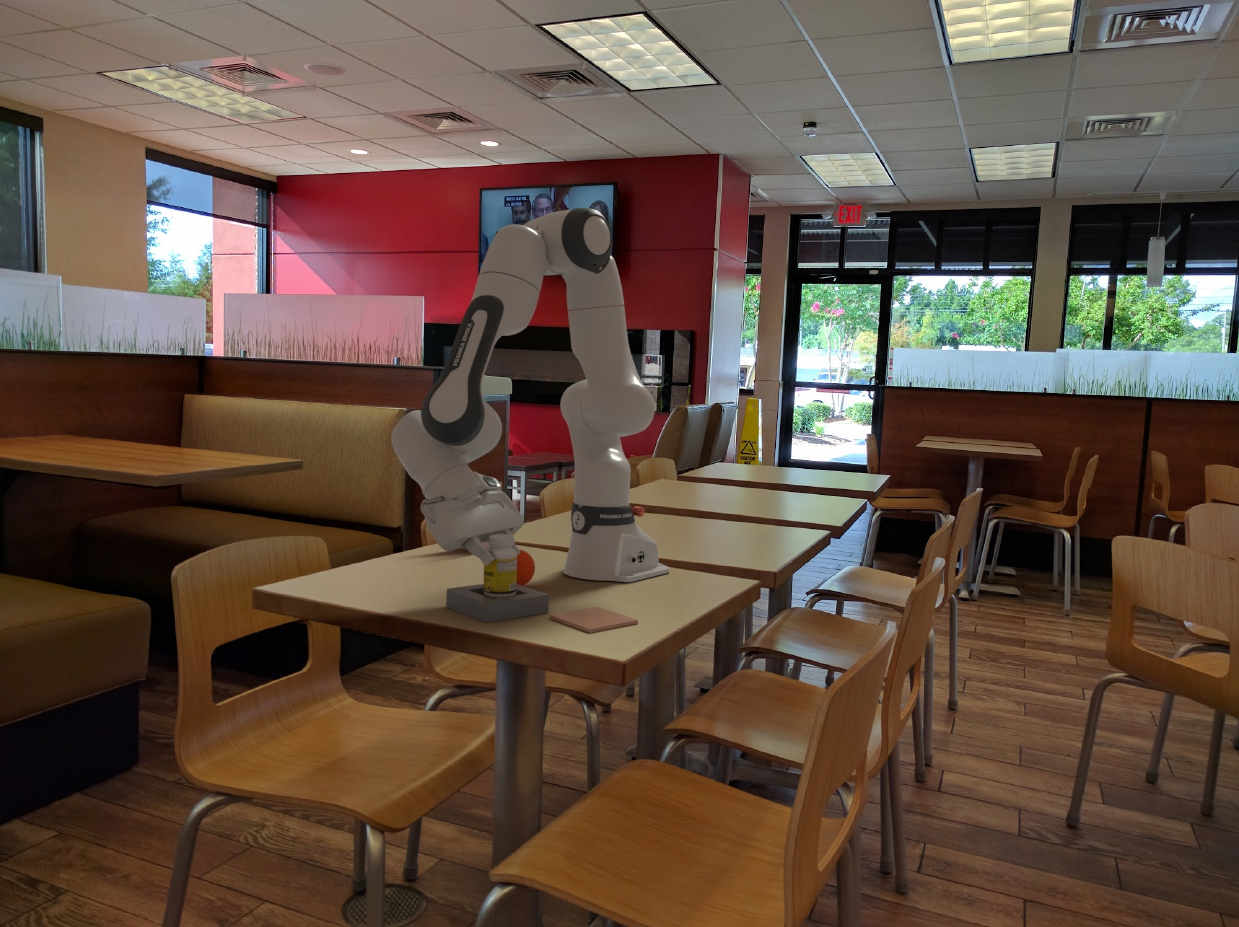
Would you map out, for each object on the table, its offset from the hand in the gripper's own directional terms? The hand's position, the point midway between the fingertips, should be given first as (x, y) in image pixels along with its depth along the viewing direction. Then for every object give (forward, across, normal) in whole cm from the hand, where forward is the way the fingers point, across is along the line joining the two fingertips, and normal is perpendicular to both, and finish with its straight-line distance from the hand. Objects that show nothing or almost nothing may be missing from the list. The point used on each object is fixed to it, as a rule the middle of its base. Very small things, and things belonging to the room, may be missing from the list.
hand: (503, 559), depth 143 cm
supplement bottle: (+4, 0, +5) cm, 6 cm away
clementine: (+1, +15, +12) cm, 19 cm away
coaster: (+17, +3, -5) cm, 18 cm away
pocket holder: (+5, 0, +7) cm, 9 cm away
